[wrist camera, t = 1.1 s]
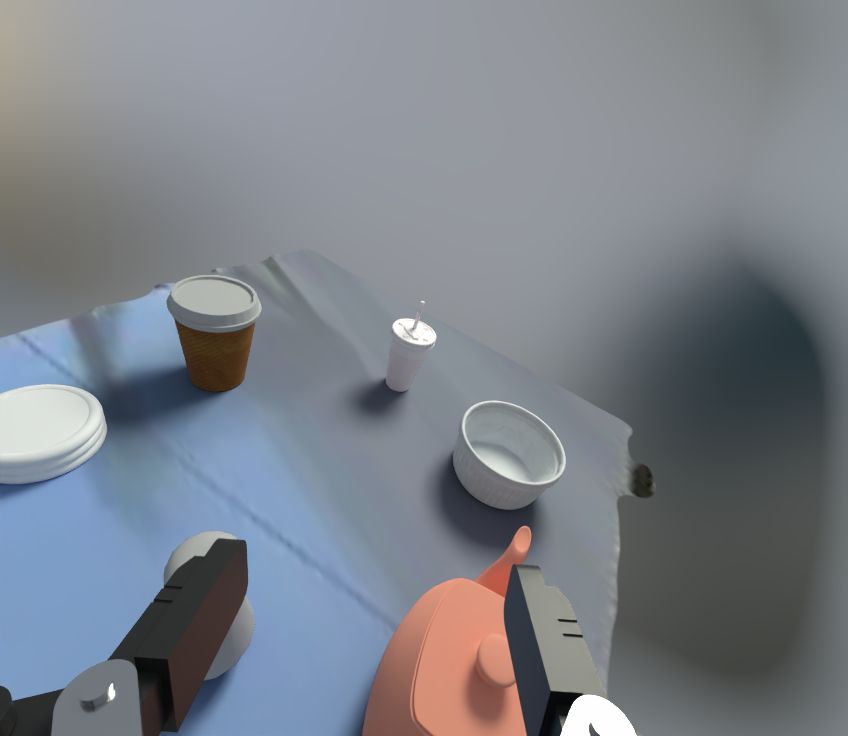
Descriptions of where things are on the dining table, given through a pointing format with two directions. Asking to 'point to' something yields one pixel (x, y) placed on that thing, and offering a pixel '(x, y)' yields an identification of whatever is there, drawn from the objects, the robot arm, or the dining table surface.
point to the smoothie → (408, 350)
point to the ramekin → (506, 455)
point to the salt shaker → (244, 619)
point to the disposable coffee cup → (214, 328)
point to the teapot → (452, 661)
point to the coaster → (47, 432)
